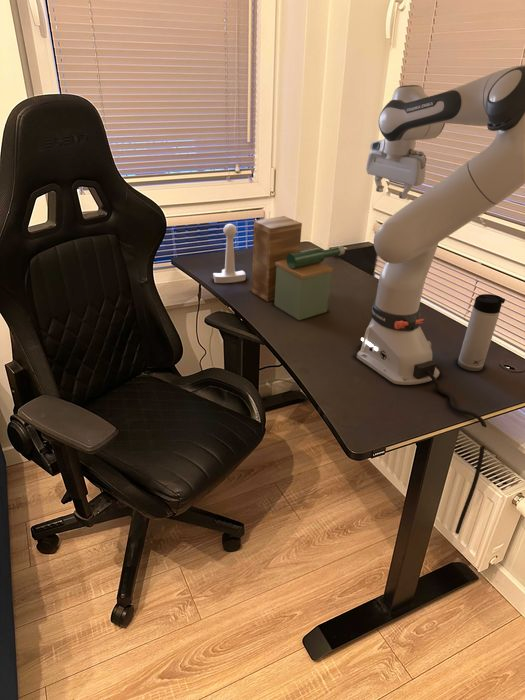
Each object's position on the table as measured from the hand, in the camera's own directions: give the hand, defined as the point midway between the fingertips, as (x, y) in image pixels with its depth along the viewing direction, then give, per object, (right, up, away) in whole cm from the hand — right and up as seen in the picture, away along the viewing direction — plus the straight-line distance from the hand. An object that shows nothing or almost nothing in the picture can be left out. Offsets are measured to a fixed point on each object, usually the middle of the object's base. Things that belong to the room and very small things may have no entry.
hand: (390, 195), depth 155 cm
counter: (-27, -35, +4) cm, 44 cm away
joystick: (-52, -23, +24) cm, 61 cm away
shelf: (-36, -29, +14) cm, 48 cm away
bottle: (-23, -21, 0) cm, 31 cm away
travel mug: (+16, -52, -22) cm, 58 cm away
